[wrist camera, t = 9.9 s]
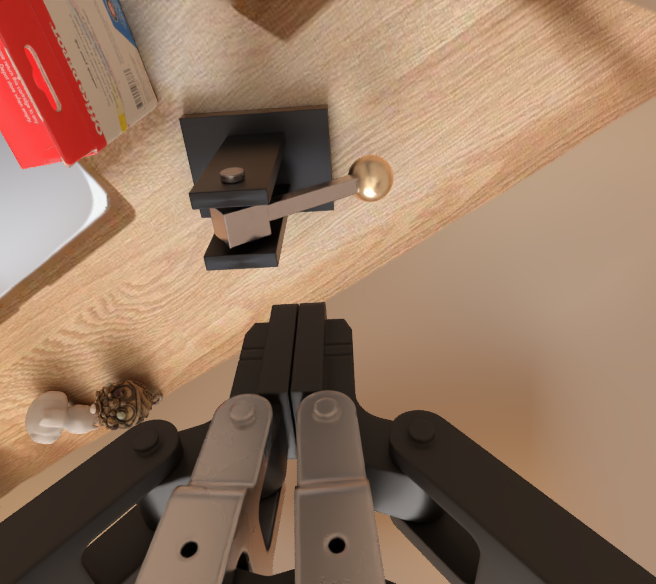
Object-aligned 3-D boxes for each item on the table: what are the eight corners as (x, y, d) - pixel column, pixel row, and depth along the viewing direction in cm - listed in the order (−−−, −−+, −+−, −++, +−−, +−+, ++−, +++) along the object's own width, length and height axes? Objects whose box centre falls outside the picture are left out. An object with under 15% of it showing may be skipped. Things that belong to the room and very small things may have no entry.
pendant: (74, 405, 50) (91, 372, 48) (143, 394, 56) (161, 365, 54) (90, 446, 47) (109, 414, 45) (161, 430, 53) (180, 401, 51)
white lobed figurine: (20, 439, 52) (100, 444, 56) (17, 445, 47) (106, 450, 50) (33, 388, 54) (110, 396, 57) (32, 388, 48) (117, 397, 52)
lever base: (327, 104, 36) (324, 157, 26) (333, 204, 41) (334, 285, 30) (183, 114, 37) (121, 170, 26) (204, 211, 41) (159, 294, 30)
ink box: (44, -7, 33) (-130, 3, 20) (112, -25, 32) (-25, -27, 20) (102, 121, 37) (-12, 191, 25) (162, 107, 37) (76, 172, 24)
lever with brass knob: (374, 146, 35) (403, 156, 33) (374, 188, 37) (402, 200, 34) (203, 192, 29) (224, 208, 27) (213, 240, 31) (234, 258, 29)
